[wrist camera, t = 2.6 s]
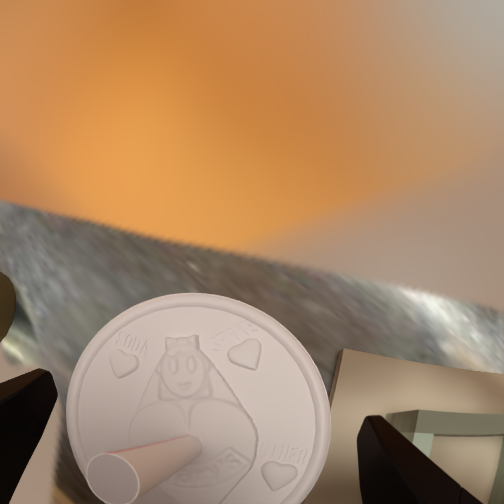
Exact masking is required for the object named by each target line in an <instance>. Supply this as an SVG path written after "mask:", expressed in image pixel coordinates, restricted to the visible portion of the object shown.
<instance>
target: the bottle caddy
mask: <svg viewBox="0 0 504 504" xmlns="http://www.w3.org/2000/svg"><path fill="white" fill-rule="evenodd" d="M329 405H330V414H331V436H330V444H329V449H328V454H327V457H326V460H325V463H324V466H323V469H322V471H321V473H320V475H319V478H318V480H317V481H316V483H315V485H314V486H313V488H312V490H311V491H310V492H309V494H308V495H307V496H306V498H305V499H304V500H303V501H302V502H301V504H363V503H362V498H361V492H360V485H359V469H358V455H357V435H358V433H359V430H360V428H361V425H362V423H363V421H364V418H365V417H366V416H368V415H381V416H382V417H384V418H385V419H386V420H387V421H388V422H389V423H390V424H391V425H392V426H394V427H395V428H396V429H397V430H398V431H399V432H400V433H401V434H402V435H404V436H405V437H406V438H407V439H408V440H409V441H410V442H411V443H413V444H414V445H415V446H416V447H417V448H418V449H419V450H421V451H422V452H423V453H424V454H425V455H426V456H427V457H429V458H430V459H431V460H432V461H433V462H434V463H435V464H437V465H438V466H439V467H440V468H441V469H442V470H444V471H445V472H446V473H447V474H448V475H449V476H450V477H452V478H453V479H454V480H455V481H456V482H458V483H459V484H460V485H461V487H464V488H465V489H466V490H467V491H468V492H470V493H471V494H472V495H473V496H475V497H476V498H477V499H478V500H480V501H481V502H482V503H484V504H504V374H497V373H488V372H480V371H472V370H465V369H458V368H451V367H444V366H437V365H431V364H425V363H419V362H413V361H407V360H401V359H396V358H390V357H385V356H380V355H374V354H369V353H364V352H359V351H354V350H350V349H345V348H344V349H342V350H341V351H340V352H339V354H338V359H337V364H336V368H335V373H334V378H333V382H332V387H331V391H330V396H329Z"/></svg>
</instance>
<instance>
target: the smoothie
mask: <svg viewBox="0 0 504 504" xmlns="http://www.w3.org/2000/svg"><path fill="white" fill-rule="evenodd" d="M66 422H67V431H68V436H69V441H70V445H71V448H72V451H73V454H74V457H75V460H76V462H77V464H78V466H79V468H80V470H81V472H82V474H83V476H84V478H85V479H86V481H87V483H88V485H89V487H90V489H91V490H92V492H93V493H94V494H95V495H96V496H97V497H98V498H99V499H100V500H102V501H103V502H104V503H105V504H301V502H302V501H303V500H304V499H305V498H306V496H307V495H308V494H309V492H310V491H311V490H312V488H313V486H314V485H315V483H316V481H317V480H318V478H319V475H320V473H321V471H322V469H323V466H324V463H325V460H326V457H327V454H328V449H329V444H330V436H331V414H330V405H329V400H328V396H327V392H326V389H325V386H324V383H323V380H322V378H321V375H320V373H319V371H318V369H317V367H316V365H315V363H314V362H313V360H312V358H311V357H310V355H309V354H308V352H307V351H306V350H305V348H304V347H303V346H302V344H301V343H300V342H299V341H298V340H297V339H296V338H295V337H294V336H293V335H292V334H291V333H290V332H289V331H288V330H287V329H286V328H285V327H284V326H282V325H281V324H280V323H279V322H277V321H276V320H275V319H273V318H272V317H270V316H269V315H267V314H265V313H264V312H262V311H260V310H258V309H256V308H254V307H253V306H250V305H248V304H245V303H243V302H241V301H237V300H234V299H231V298H228V297H223V296H218V295H213V294H204V293H180V294H172V295H166V296H161V297H157V298H153V299H151V300H148V301H145V302H142V303H140V304H138V305H135V306H133V307H131V308H129V309H128V310H126V311H124V312H122V313H121V314H119V315H118V316H116V317H115V318H114V319H112V320H111V321H110V322H109V323H107V324H106V325H105V326H104V327H103V328H102V329H101V330H100V331H99V332H98V333H97V334H96V335H95V336H94V338H93V339H92V340H91V341H90V343H89V344H88V345H87V347H86V348H85V350H84V351H83V353H82V355H81V357H80V359H79V360H78V362H77V364H76V367H75V369H74V372H73V374H72V378H71V381H70V385H69V390H68V395H67V404H66Z"/></svg>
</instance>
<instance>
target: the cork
mask: <svg viewBox="0 0 504 504" xmlns="http://www.w3.org/2000/svg"><path fill="white" fill-rule="evenodd" d="M15 301H16V296H15V291H14V286H13V284H12V283H11V281H10V279H9V278H8V277H7V276H6V275H4V274H3V273H1V272H0V342H1V341H2V339H3V338H4V337H5V336H6V334H7V332H8V330H9V328H10V326H11V324H12V321H13V316H14V312H15Z"/></svg>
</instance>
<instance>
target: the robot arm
mask: <svg viewBox="0 0 504 504" xmlns="http://www.w3.org/2000/svg"><path fill="white" fill-rule="evenodd" d="M57 397H58V392H57V389H56V386H55V383H54V380H53V376H52V374H51V373H50V372H49V371H47V370H44V369H40V368H39V369H36V370H33V371H31V372H28V373H25V374H23V375H20V376H18V377H15V378H13V379H10V380H8V381H5V382H3V383H0V504H9V502H10V500H11V498H12V496H13V493H14V491H15V489H16V487H17V485H18V483H19V480H20V478H21V476H22V474H23V472H24V470H25V468H26V466H27V464H28V462H29V460H30V458H31V456H32V454H33V452H34V450H35V448H36V446H37V445H38V443H39V441H40V439H41V437H42V434H43V432H44V429H45V427H46V425H47V422H48V420H49V417H50V415H51V412H52V410H53V408H54V405H55V403H56V400H57ZM357 455H358V469H359V485H360V492H361V498H362V503H363V504H484V503H482V502H481V501H480V500H478V499H477V498H476V497H475V496H473V495H472V494H471V493H470V492H468V491H467V490H466V489H465V488H464V487H461V485H460V484H459V483H458V482H456V481H455V480H454V479H453V478H452V477H450V476H449V475H448V474H447V473H446V472H445V471H444V470H442V469H441V468H440V467H439V466H438V465H437V464H435V463H434V462H433V461H432V460H431V459H430V458H429V457H427V456H426V455H425V454H424V453H423V452H422V451H421V450H419V449H418V448H417V447H416V446H415V445H414V444H413V443H411V442H410V441H409V440H408V439H407V438H406V437H405V436H404V435H402V434H401V433H400V432H399V431H398V430H397V429H396V428H395V427H394V426H392V425H391V424H390V423H389V422H388V421H387V420H386V419H385V418H384V417H382V416H381V415H368V416H366V417H365V418H364V421H363V423H362V425H361V428H360V430H359V433H358V435H357Z"/></svg>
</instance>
